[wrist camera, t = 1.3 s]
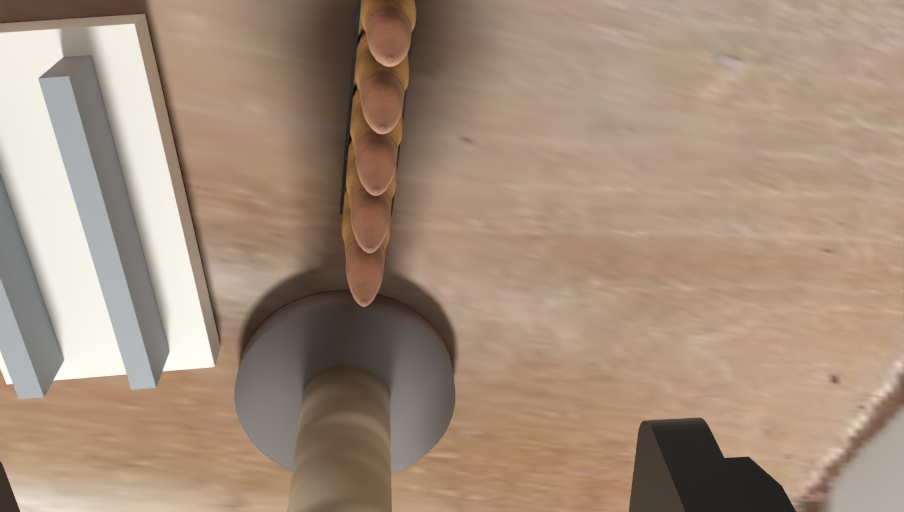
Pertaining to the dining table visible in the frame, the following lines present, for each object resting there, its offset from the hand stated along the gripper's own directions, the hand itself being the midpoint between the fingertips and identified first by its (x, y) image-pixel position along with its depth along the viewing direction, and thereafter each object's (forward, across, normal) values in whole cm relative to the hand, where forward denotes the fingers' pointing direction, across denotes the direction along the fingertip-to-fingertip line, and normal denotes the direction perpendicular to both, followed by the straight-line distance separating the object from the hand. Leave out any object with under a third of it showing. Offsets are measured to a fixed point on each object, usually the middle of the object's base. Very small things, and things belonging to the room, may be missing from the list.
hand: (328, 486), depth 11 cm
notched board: (+24, +12, +7) cm, 28 cm away
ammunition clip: (+24, 0, +1) cm, 24 cm away
